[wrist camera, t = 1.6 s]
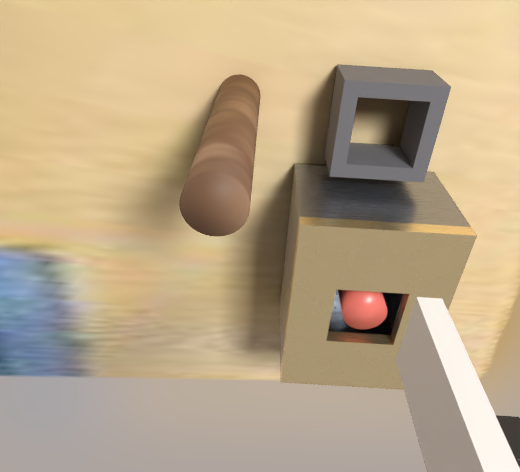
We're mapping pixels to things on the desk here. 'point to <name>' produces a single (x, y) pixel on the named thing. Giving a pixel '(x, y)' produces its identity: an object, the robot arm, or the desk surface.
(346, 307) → the pink rubber ball
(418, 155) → the holder
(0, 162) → the desk surface
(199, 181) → the brown rounded rod
